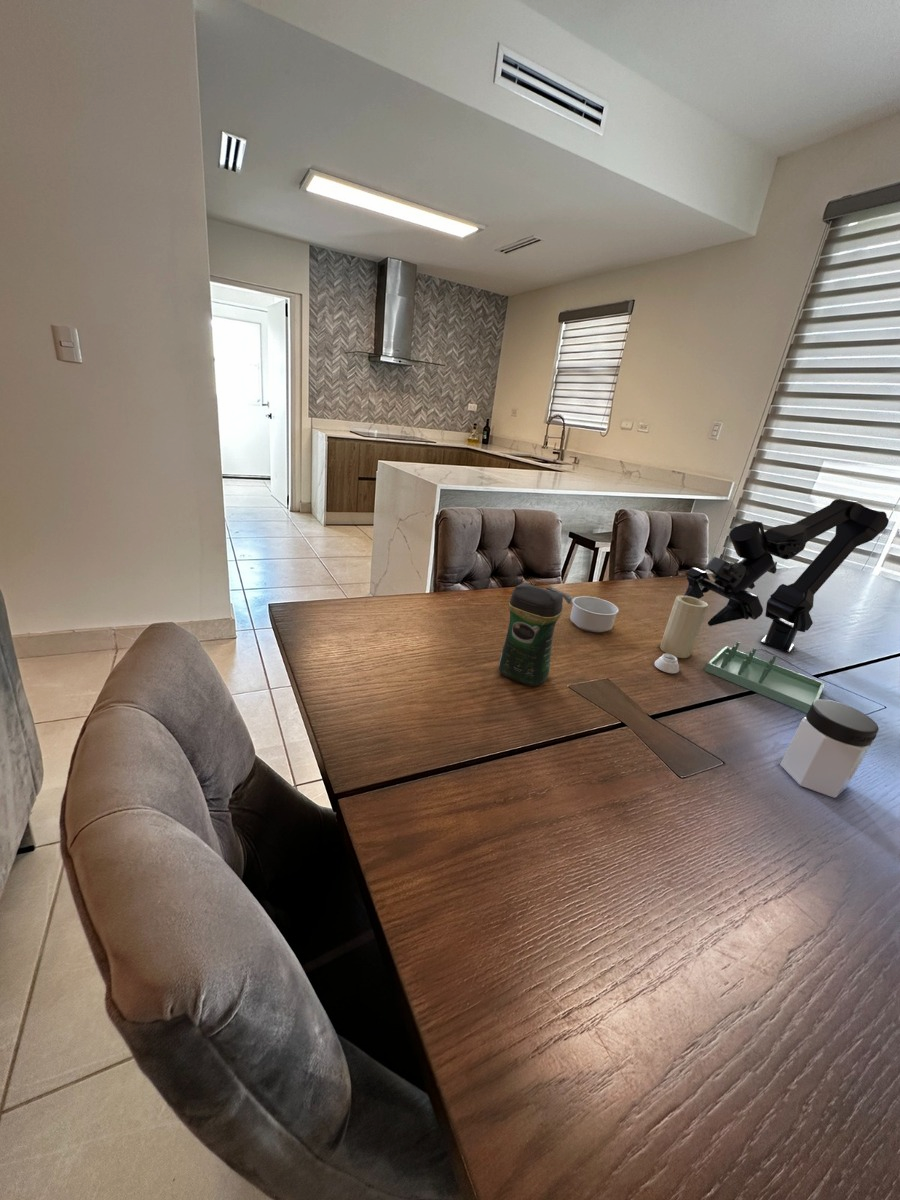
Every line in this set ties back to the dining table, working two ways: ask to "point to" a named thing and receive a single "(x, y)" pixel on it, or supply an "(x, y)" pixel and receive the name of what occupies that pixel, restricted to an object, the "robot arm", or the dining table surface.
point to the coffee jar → (530, 634)
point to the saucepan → (590, 612)
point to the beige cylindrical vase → (683, 626)
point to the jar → (829, 747)
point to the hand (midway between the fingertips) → (693, 615)
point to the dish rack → (766, 678)
